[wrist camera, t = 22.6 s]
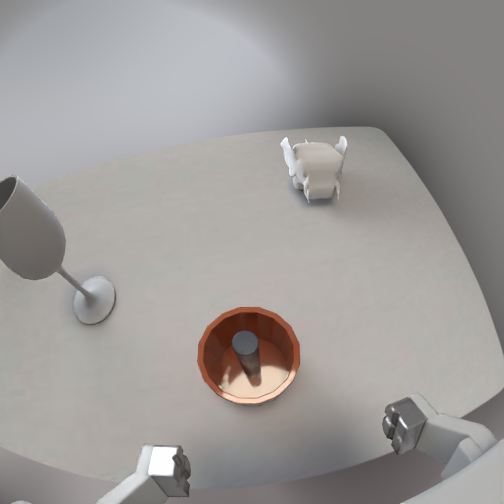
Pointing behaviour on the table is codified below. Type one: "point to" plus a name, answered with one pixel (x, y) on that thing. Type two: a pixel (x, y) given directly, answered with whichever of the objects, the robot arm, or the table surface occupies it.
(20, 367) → the table surface
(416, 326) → the table surface
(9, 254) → the wineglass
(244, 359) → the rod
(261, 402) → the cup
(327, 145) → the elephant figurine
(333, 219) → the table surface
